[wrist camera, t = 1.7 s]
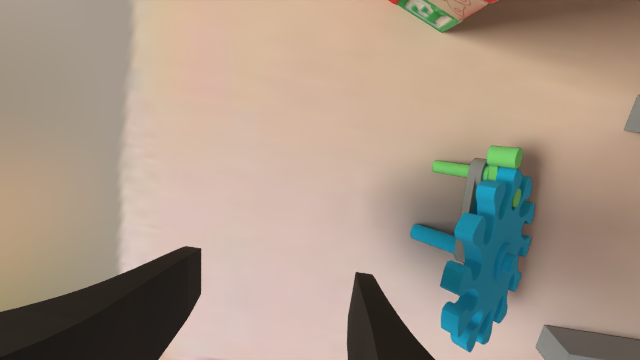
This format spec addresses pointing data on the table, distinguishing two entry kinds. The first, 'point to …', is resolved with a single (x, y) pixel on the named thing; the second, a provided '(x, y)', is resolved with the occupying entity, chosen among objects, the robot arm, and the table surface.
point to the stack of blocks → (442, 10)
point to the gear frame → (586, 347)
